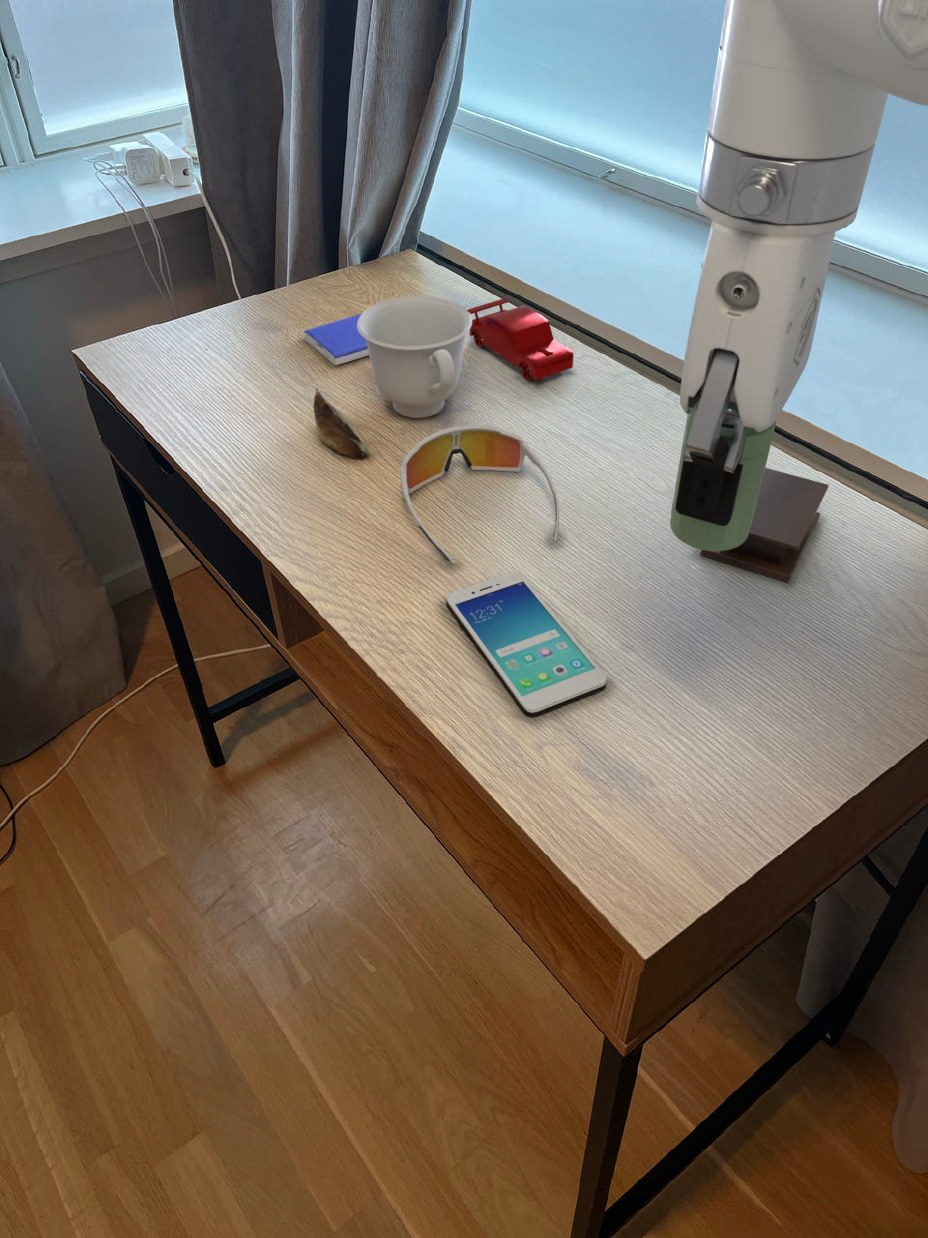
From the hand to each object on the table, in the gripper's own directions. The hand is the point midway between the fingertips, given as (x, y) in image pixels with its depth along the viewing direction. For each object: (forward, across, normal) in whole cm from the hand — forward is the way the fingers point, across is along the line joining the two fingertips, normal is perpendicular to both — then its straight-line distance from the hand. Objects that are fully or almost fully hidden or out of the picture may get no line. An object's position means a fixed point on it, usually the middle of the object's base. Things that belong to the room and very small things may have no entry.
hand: (717, 489), depth 58 cm
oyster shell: (+22, +22, +44) cm, 54 cm away
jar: (+3, 0, 0) cm, 3 cm away
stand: (+21, +26, 0) cm, 33 cm away
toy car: (+22, +46, +35) cm, 62 cm away
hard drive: (+22, +42, +54) cm, 72 cm away
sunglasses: (+22, +18, +25) cm, 38 cm away
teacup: (+22, +31, +39) cm, 54 cm away
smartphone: (+22, +3, +14) cm, 26 cm away
